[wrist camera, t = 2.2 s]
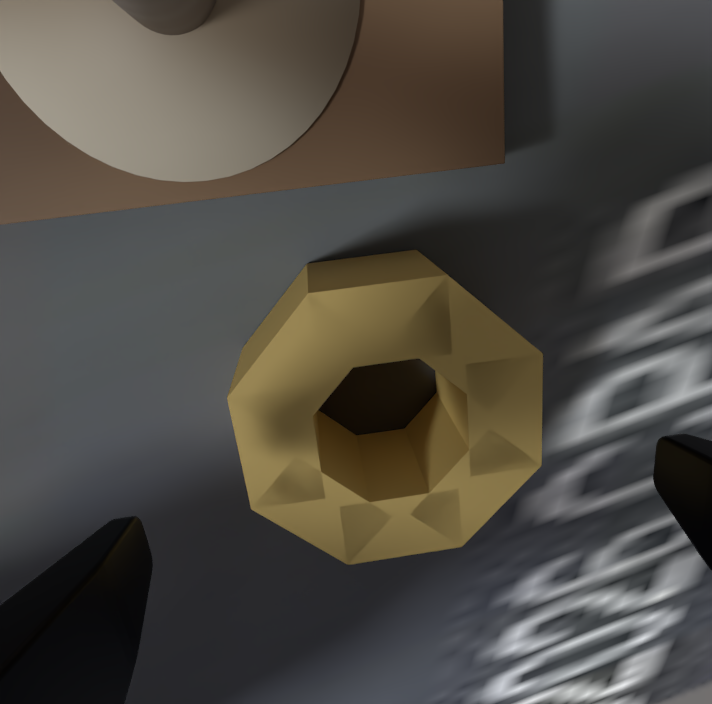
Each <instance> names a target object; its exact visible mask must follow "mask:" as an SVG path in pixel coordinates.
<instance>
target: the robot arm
mask: <svg viewBox="0 0 712 704" xmlns="http://www.w3.org/2000/svg"><path fill="white" fill-rule="evenodd" d="M653 479H654V484H655V487H656V490H657V491H658V493H659V495H660V496H661V498H662V499H663V501H664V502H665V504H666V505H667V507H668V508H669V510H670V511H671V513H672V514H673V516H674V517H675V519H676V520H677V522H678V523H679V524H680V526H681V527H682V529H683V530H684V532H685V533H686V535H687V536H688V538H689V539H690V541H691V542H692V544H693V545H694V547H695V548H696V550H697V551H698V553H699V554H700V556H701V557H702V558H703V560H704V561H705V563H706V564H707V565H708V567H709V568H710V569H711V571H712V441H709V440H706V439H702V438H699V437H695V436H692V435H688V434H675V435H669V436H663V437H661V438H660V439H659V440H658V442H657V445H656V454H655V464H654V474H653ZM152 567H153V562H152V555H151V551H150V548H149V545H148V541H147V538H146V535H145V532H144V528H143V525H142V522H141V521H140V519H139V518H138V517H136V516H131V517H125V518H118V519H113V520H111V521H109V522H108V523H107V524H106V525H104V526H103V527H102V528H100V529H99V530H98V531H96V532H95V533H94V534H93V535H91V536H90V537H89V538H87V539H86V540H85V541H83V542H82V543H81V544H80V545H78V546H77V547H76V548H74V549H73V550H72V551H70V552H69V553H68V554H67V555H65V556H64V557H63V558H61V559H60V560H59V561H57V562H56V563H55V564H54V565H52V566H51V567H50V568H48V569H47V570H46V571H44V572H43V573H42V574H41V575H39V576H38V577H37V578H35V579H34V580H33V581H31V582H30V583H29V584H28V585H26V586H25V587H24V588H22V589H21V590H20V591H18V592H17V593H16V594H15V595H13V596H12V597H11V598H9V599H8V600H7V601H5V602H4V603H3V604H2V605H0V704H124V702H125V699H126V695H127V692H128V688H129V685H130V681H131V678H132V674H133V670H134V667H135V663H136V659H137V654H138V649H139V644H140V638H141V632H142V627H143V621H144V615H145V609H146V603H147V598H148V592H149V586H150V580H151V575H152Z"/></svg>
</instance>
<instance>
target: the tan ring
mask: <svg viewBox="0 0 712 704" xmlns="http://www.w3.org/2000/svg"><path fill="white" fill-rule="evenodd" d="M418 358H419V359H421V360H422V361H423V362H425V363H426V364H427V365H429V366H430V367H431V368H433V369H434V370H435V378H436V394H435V395H434V396H433V397H432V398H431V399H430V400H429V402H428V403H427V404H426V405H425V406H424V407H423V408H422V409H421V411H420V412H419V413H418V414H417V415H416V416H415V417H414V418H413V420H412V421H411V422H410V423H409V424H408V425H407V426H406V428H404V429H398V430H391V431H384V432H377V433H370V434H363V435H355V434H354V433H352V432H351V431H349V430H348V429H346V428H345V427H343V426H342V425H340V424H339V423H337V422H336V421H334V420H333V419H331V418H330V417H328V416H327V415H325V414H324V413H322V412H321V411H319V410H318V409H319V408H320V407H321V406H322V404H323V403H324V402H325V401H326V399H327V398H328V397H329V396H330V395H331V393H332V392H333V391H334V390H335V389H336V387H337V386H338V385H339V384H340V383H341V381H342V380H343V379H344V378H345V377H346V375H347V374H348V373H349V372H350V371H351V369H352V368H353V367H360V366H367V365H374V364H382V363H389V362H396V361H403V360H410V359H418ZM542 393H543V353H542V352H541V351H539V350H538V349H537V348H536V347H534V346H533V345H532V344H531V343H529V342H528V341H527V340H526V339H525V338H523V337H522V336H521V335H520V334H519V333H517V332H516V331H515V330H514V329H512V328H511V327H510V326H509V325H508V324H506V323H505V322H504V321H503V320H502V319H500V318H499V317H498V316H497V315H496V314H494V313H493V312H492V311H491V310H489V309H488V308H487V307H486V306H485V305H483V304H482V303H481V302H480V301H479V300H477V299H476V298H475V297H474V296H473V295H471V294H470V293H469V292H468V291H467V290H465V289H464V288H463V287H462V286H460V285H459V284H458V283H457V282H456V281H454V280H453V279H452V278H451V277H450V276H448V275H447V274H446V273H445V272H444V271H442V270H441V269H440V268H439V267H437V266H436V265H435V264H434V263H432V262H431V261H430V260H429V259H427V258H426V257H425V256H424V255H422V254H421V253H420V252H419V251H417V250H409V251H401V252H394V253H386V254H378V255H370V256H362V257H355V258H347V259H339V260H331V261H324V262H316V263H308V264H306V266H305V267H304V268H303V270H302V271H301V272H300V273H299V275H298V276H297V277H296V279H295V280H294V281H293V283H292V284H291V285H290V287H289V288H288V289H287V291H286V292H285V293H284V294H283V296H282V297H281V298H280V300H279V301H278V302H277V304H276V305H275V306H274V308H273V309H272V310H271V311H270V313H269V314H268V315H267V317H266V318H265V319H264V321H263V322H262V323H261V325H260V326H259V327H258V329H257V330H256V331H255V332H254V334H253V335H252V336H251V338H250V339H249V340H248V342H247V343H246V344H245V346H244V347H243V349H242V352H241V355H240V358H239V362H238V365H237V368H236V371H235V374H234V377H233V381H232V384H231V387H230V390H229V393H228V396H227V400H228V404H229V409H230V414H231V418H232V423H233V428H234V432H235V437H236V441H237V446H238V451H239V455H240V460H241V465H242V469H243V474H244V478H245V483H246V488H247V492H248V497H249V501H250V506H251V510H253V511H255V512H257V513H258V514H260V515H262V516H264V517H265V518H267V519H269V520H271V521H272V522H274V523H276V524H278V525H279V526H281V527H283V528H284V529H286V530H288V531H290V532H291V533H293V534H295V535H297V536H298V537H300V538H302V539H304V540H305V541H307V542H309V543H311V544H312V545H314V546H316V547H318V548H319V549H321V550H323V551H325V552H326V553H328V554H330V555H332V556H333V557H335V558H337V559H338V560H340V561H342V562H344V563H345V564H347V565H351V564H357V563H363V562H370V561H376V560H383V559H389V558H395V557H402V556H408V555H414V554H421V553H427V552H433V551H440V550H446V549H452V548H459V547H462V546H463V545H464V544H465V543H466V542H467V541H468V540H469V539H470V538H471V537H472V536H473V535H474V534H475V533H476V532H477V531H478V530H479V529H480V528H481V527H482V526H483V525H484V524H485V523H486V522H487V521H488V520H489V519H490V518H491V517H492V516H493V515H494V514H495V513H496V512H497V511H498V509H499V508H500V507H501V506H502V505H503V504H504V503H505V502H506V501H507V500H508V499H509V498H510V497H511V496H512V495H513V494H514V493H515V492H516V491H517V490H518V489H519V488H520V487H521V486H522V485H523V484H524V483H525V482H526V481H527V480H528V479H529V478H530V477H531V476H532V475H533V474H534V473H535V472H536V471H537V470H538V469H539V468H540V467H541V466H542Z"/></svg>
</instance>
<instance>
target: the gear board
mask: <svg viewBox="0 0 712 704" xmlns="http://www.w3.org/2000/svg"><path fill="white" fill-rule="evenodd" d="M504 163H505V136H504V54H503V0H0V225H1V224H9V223H18V222H26V221H34V220H42V219H51V218H59V217H67V216H75V215H84V214H92V213H100V212H108V211H117V210H125V209H133V208H141V207H149V206H158V205H166V204H174V203H182V202H191V201H199V200H207V199H215V198H224V197H232V196H240V195H248V194H257V193H265V192H273V191H281V190H289V189H298V188H306V187H314V186H322V185H331V184H339V183H347V182H355V181H364V180H372V179H380V178H388V177H397V176H405V175H413V174H421V173H429V172H438V171H446V170H454V169H462V168H471V167H479V166H487V165H495V164H504Z"/></svg>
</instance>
